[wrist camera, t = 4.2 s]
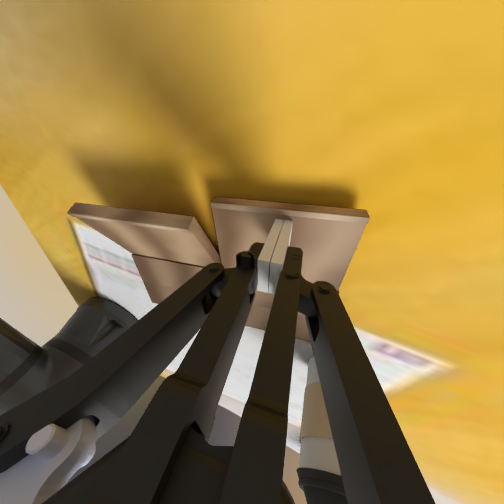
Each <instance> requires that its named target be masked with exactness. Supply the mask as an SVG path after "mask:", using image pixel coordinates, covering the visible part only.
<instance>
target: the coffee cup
mask: <svg viewBox="0 0 504 504" xmlns="http://www.w3.org/2000/svg"><path fill="white" fill-rule="evenodd" d="M300 443H301V450H300V460H299V468H298V469H297V473H298V476H299V486H300V488H301V489H302V490H303V491H304V493H305V497H306V501H307V504H348V502H347V498H346V494H345V489H344V485H343V481H342V476H341V472H340V468H339V463H338V459H337V454H336V450H335V446H334V441H333V437H332V433H331V428H330V424H329V419H328V415H327V411H326V406H325V402H324V398H323V393H322V389H321V384H320V380H319V376H318V371H317V367H316V363H315V358H314V356H312V357H311V358H310V359H309V363H308V373H307V384H306V388H305V395H304V404H303V414H302V424H301V433H300Z"/></svg>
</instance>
